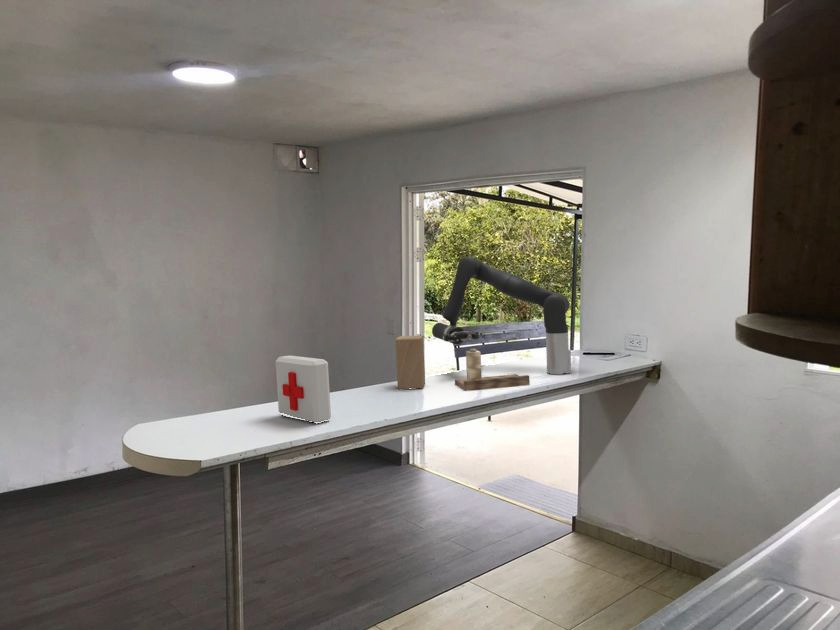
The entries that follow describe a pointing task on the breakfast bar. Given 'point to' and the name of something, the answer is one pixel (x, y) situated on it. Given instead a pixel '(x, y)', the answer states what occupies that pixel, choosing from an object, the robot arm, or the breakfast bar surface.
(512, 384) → the board
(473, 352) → the mottled beige cylinder
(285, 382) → the bevelled white case
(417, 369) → the wooden block
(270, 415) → the breakfast bar surface
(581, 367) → the breakfast bar surface
